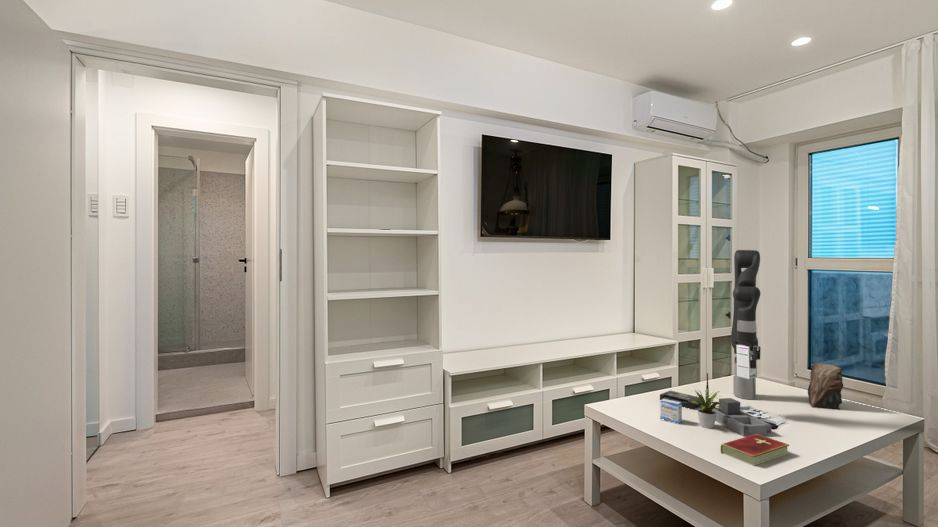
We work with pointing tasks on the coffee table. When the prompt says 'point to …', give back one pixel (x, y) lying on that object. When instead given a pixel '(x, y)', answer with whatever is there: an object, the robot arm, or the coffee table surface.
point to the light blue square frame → (748, 408)
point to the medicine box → (671, 410)
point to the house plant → (707, 410)
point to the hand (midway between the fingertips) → (746, 366)
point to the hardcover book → (754, 449)
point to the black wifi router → (683, 398)
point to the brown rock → (825, 386)
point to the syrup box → (745, 363)
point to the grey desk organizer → (740, 419)
